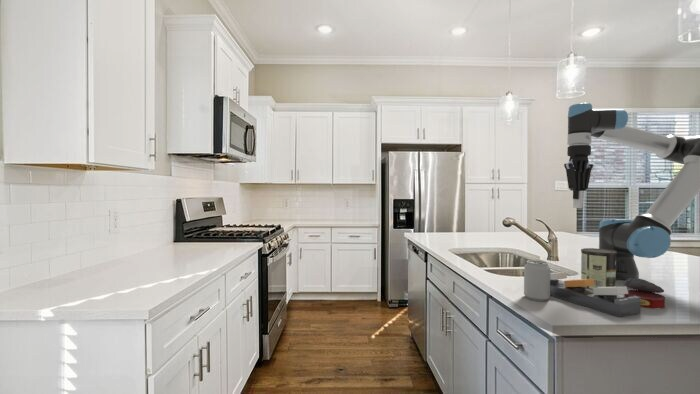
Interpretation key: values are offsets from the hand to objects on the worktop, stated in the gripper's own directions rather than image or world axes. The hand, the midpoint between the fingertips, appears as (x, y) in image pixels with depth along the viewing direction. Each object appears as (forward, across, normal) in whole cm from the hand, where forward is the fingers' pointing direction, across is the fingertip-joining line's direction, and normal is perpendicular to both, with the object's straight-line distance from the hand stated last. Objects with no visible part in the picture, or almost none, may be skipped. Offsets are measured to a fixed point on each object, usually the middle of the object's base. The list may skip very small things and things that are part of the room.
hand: (577, 207), depth 137 cm
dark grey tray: (+28, -20, -16) cm, 38 cm away
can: (+29, -31, -9) cm, 43 cm away
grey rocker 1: (+23, -20, -6) cm, 31 cm away
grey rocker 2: (+23, -20, -25) cm, 39 cm away
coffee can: (+29, -3, -10) cm, 30 cm away
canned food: (+29, -4, -25) cm, 38 cm away
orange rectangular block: (+23, -20, -16) cm, 34 cm away
